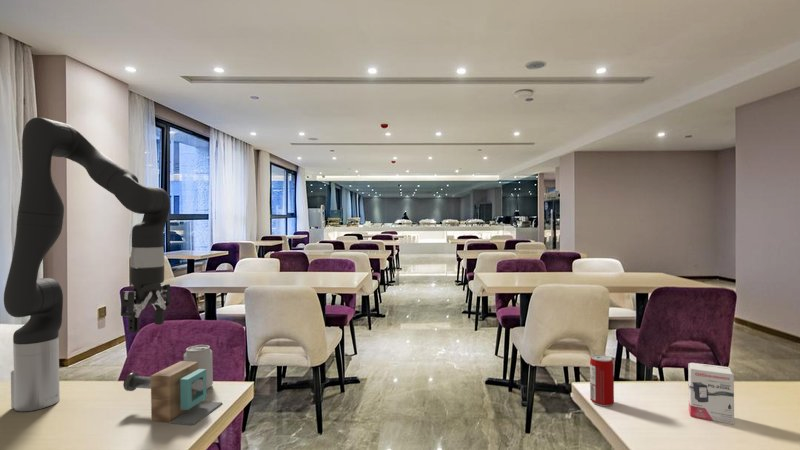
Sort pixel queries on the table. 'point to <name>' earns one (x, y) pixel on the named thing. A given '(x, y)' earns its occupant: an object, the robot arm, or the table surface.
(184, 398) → the spacer
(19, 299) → the robot arm
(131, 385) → the shaft
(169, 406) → the bearing block
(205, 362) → the can
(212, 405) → the mat
